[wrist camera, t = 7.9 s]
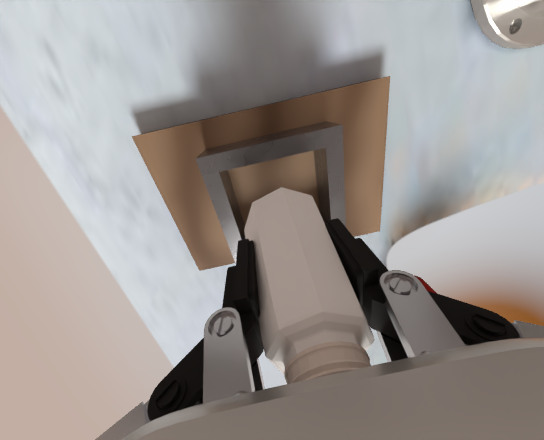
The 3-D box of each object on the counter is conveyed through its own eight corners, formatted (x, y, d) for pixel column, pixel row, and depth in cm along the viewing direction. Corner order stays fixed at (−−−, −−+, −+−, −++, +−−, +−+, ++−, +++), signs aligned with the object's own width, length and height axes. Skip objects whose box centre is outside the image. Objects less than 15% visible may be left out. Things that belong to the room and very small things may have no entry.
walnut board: (379, 78, 17) (390, 76, 15) (372, 223, 24) (379, 230, 22) (140, 134, 17) (131, 136, 16) (202, 261, 24) (199, 270, 23)
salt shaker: (227, 230, 14) (180, 500, 4) (280, 168, 12) (389, 382, 3) (286, 266, 16) (342, 505, 6) (338, 217, 14) (520, 439, 5)
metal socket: (325, 121, 17) (342, 124, 13) (332, 225, 21) (346, 245, 18) (205, 149, 17) (195, 158, 14) (239, 245, 22) (237, 268, 18)
